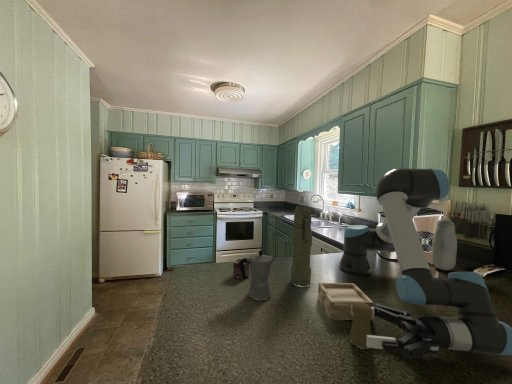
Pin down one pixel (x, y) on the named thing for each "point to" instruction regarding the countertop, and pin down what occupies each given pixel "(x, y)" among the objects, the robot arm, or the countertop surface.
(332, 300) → the oak stand
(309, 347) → the countertop surface
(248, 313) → the countertop surface
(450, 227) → the grey rounded cylinder
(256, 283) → the coffeepot
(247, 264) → the box
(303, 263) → the thermos
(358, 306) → the cork
